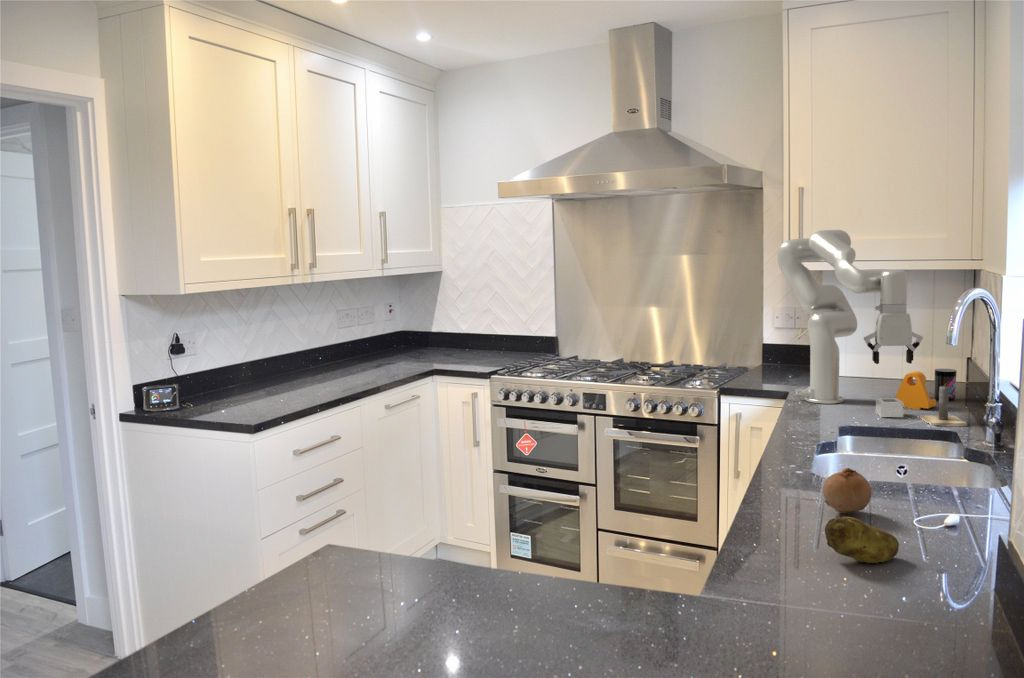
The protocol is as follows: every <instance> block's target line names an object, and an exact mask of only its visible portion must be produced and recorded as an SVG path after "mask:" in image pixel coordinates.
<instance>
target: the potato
mask: <svg viewBox="0 0 1024 678" xmlns="http://www.w3.org/2000/svg"><path fill="white" fill-rule="evenodd" d="M824 534H825V539H826V544H827V546H828V547H829V548H832V549H833V551H834V552H836V553H837V554H838V555H841V556H844V557H849V558H851V559H853V560H855V561H857V560H858V561H857V562H859V561H862V562H861V563H863V562H868V563H867V564H869V563H876V564H879V563H878V562H882V563H885V561H886V562H888V561H891V559H893V558H895V556H897V554H898V553H899V546H900V544H899V541H898V539H897V537H895V536H894V535H893V534H891V533H890V532H887V531H886V530H883V529H880V528H877V527H874V526H872V525H870V524H867V523H865V522H864V521H862V520H860V519H858V518H856V517H852V516H843V515H842V516H837V517H834V518H831V519H829V520H828V521H827V523H826V524H825V527H824Z"/></svg>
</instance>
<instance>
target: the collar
mask: <svg viewBox="0 0 1024 678" xmlns="http://www.w3.org/2000/svg"><path fill="white" fill-rule="evenodd" d="M903 406H904V403H903V402H902V401H900V400H899V399H897V398H895V397H894V398H893V397H892V398H890V397H889V398H886V397H885V398H878V397H877V398H875V414H876V415H877V414H878V415H879V416H880V417H879V416H878V415H877V416H878V417H879V418H881V417H903V418H904V408H903Z"/></svg>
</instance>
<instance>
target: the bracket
mask: <svg viewBox="0 0 1024 678" xmlns="http://www.w3.org/2000/svg"><path fill="white" fill-rule="evenodd" d="M914 379H916V382H914ZM926 382H927V378H926V375H925V374H924V373H923V372H921V371H917V370H916V371H912V372H909V373H906V374H905V375H904V377H903V379H902V381H901V383H900V385H899V388H898V390H897V393H896V394H895V397H894V398H897V399H899V400H900V401H902V402H903V403H904V406H903V407H909V408H914V409H913V410H917V409H921V410H923V409H931V408H934V407H936V405H937V400H935V399H934V398H930V396H929V392H928V390H927V387H926ZM909 408H908V409H909ZM922 408H923V409H922Z"/></svg>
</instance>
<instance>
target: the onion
mask: <svg viewBox="0 0 1024 678" xmlns="http://www.w3.org/2000/svg"><path fill="white" fill-rule="evenodd" d="M822 494H823V497H824V499H825V500H824V502H825V504H826V505H827V506H828V507H830V508H833V510H835V512H838V513H840V514H846V513H847V514H853V513H854V514H855V513H857V512H859V511H863V510H864V509H865V508H866V507H867V506H868V505H869V503H870V502H871V498H872V495H873V494H872V487H871V484H870V483H869V481H868V480H867V479H866V477H864V476H863V475H862V474H861V473H859V472H858V471H857V470H855V469H851V468H850V467H846V468H844V469H842V470H841V471H839V472H836V473H833V474H831V475H830V476H828V477H827V479H826V481H825V482H824V484H823V488H822Z"/></svg>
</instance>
